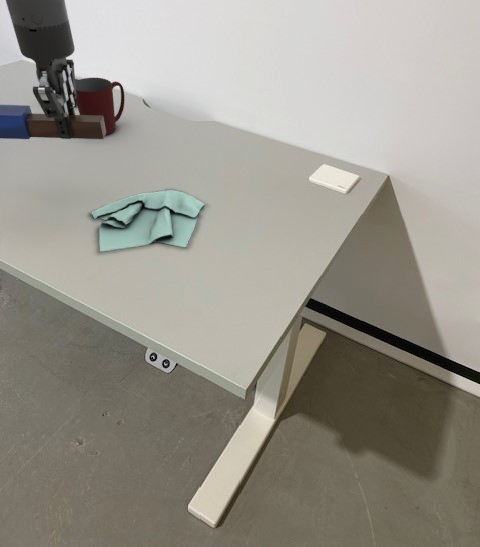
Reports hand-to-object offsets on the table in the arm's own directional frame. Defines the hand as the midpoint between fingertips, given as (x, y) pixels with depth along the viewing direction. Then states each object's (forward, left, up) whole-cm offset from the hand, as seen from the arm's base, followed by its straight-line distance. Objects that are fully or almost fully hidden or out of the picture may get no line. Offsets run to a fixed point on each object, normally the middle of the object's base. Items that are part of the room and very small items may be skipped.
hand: (69, 133), depth 71 cm
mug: (-2, +34, -15) cm, 37 cm away
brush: (-3, 0, 0) cm, 3 cm away
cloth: (+12, -4, -15) cm, 20 cm away
